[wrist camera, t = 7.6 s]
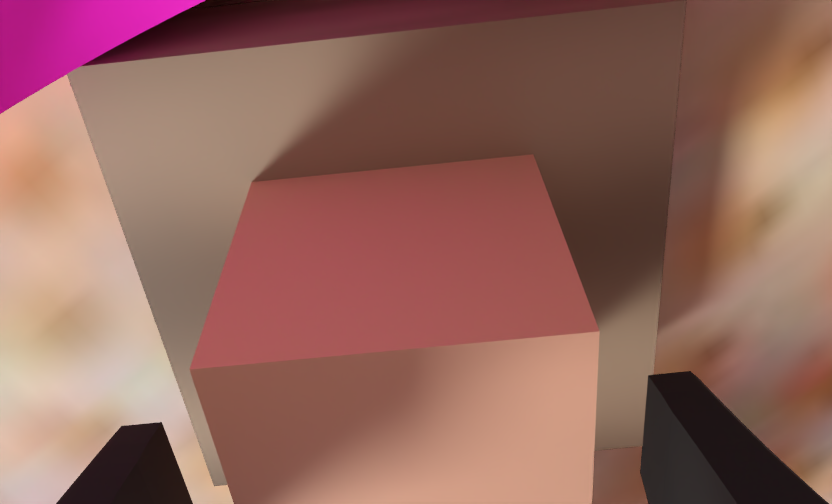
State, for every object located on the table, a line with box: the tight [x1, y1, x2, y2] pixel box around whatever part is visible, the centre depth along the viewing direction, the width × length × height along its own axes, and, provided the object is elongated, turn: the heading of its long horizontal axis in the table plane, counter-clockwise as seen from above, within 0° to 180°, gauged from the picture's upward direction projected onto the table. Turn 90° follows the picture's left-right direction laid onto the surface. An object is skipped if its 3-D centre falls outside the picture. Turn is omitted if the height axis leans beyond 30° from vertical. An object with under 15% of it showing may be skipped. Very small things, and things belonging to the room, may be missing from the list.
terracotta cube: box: [189, 154, 600, 504], centre depth 13 cm, size 5×5×5 cm
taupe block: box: [67, 0, 686, 486], centre depth 16 cm, size 10×10×3 cm
